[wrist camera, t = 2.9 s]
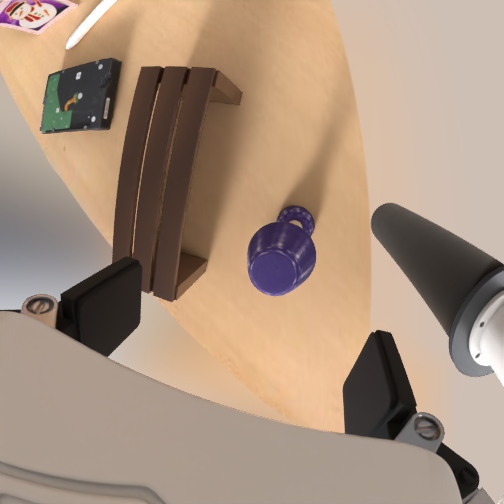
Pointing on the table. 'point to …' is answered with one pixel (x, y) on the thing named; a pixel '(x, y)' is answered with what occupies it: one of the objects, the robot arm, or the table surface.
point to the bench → (164, 172)
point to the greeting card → (33, 14)
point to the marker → (89, 22)
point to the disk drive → (81, 97)
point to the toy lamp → (282, 252)
